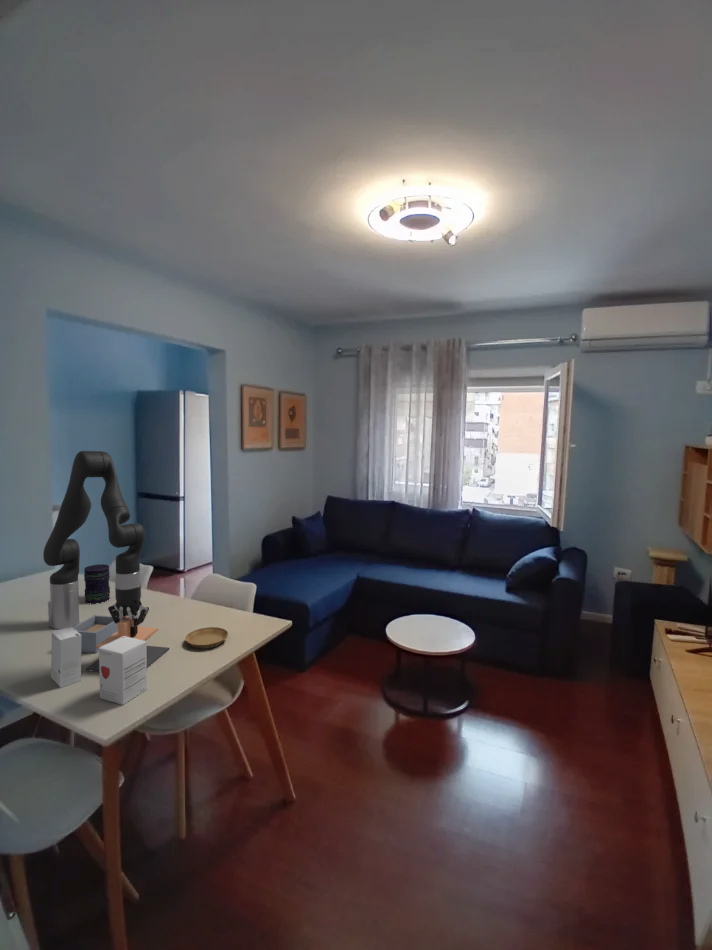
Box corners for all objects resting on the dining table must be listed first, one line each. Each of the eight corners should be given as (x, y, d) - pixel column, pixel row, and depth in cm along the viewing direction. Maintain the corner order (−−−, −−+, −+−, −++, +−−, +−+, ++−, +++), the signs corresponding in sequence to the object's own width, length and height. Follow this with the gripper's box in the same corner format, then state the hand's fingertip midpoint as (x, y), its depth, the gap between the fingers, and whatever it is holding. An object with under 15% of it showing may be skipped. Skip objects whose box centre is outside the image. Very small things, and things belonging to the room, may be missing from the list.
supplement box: (98, 698, 130) (97, 647, 128) (124, 683, 138) (123, 634, 137) (122, 706, 126) (121, 653, 125) (148, 689, 135) (147, 640, 134)
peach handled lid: (131, 655, 143) (130, 630, 143) (96, 652, 145) (95, 627, 144) (158, 634, 158) (157, 611, 157) (126, 631, 160) (125, 608, 159)
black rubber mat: (85, 670, 145) (85, 668, 145) (121, 645, 163) (121, 643, 162) (138, 675, 142) (138, 673, 142) (169, 649, 160) (169, 647, 160)
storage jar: (103, 594, 212) (102, 563, 211) (114, 599, 206) (113, 567, 205) (80, 600, 204) (79, 567, 203) (91, 605, 198) (90, 572, 197)
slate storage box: (96, 653, 156) (95, 633, 156) (67, 650, 158) (66, 630, 157) (122, 635, 170) (122, 617, 169) (95, 633, 171) (95, 615, 171)
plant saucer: (206, 655, 157) (206, 648, 157) (176, 645, 164) (176, 638, 164) (236, 639, 170) (236, 632, 169) (207, 630, 177) (207, 624, 176)
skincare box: (50, 678, 140) (49, 631, 138) (73, 671, 144) (71, 625, 143) (60, 688, 134) (58, 639, 133) (83, 680, 139) (81, 633, 138)
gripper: (100, 587, 148) (102, 639, 149) (141, 589, 146) (142, 642, 147) (116, 580, 155) (117, 629, 156) (154, 582, 153) (155, 633, 155)
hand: (129, 635), depth 152 cm, fingers closed on peach handled lid, 2 cm apart
